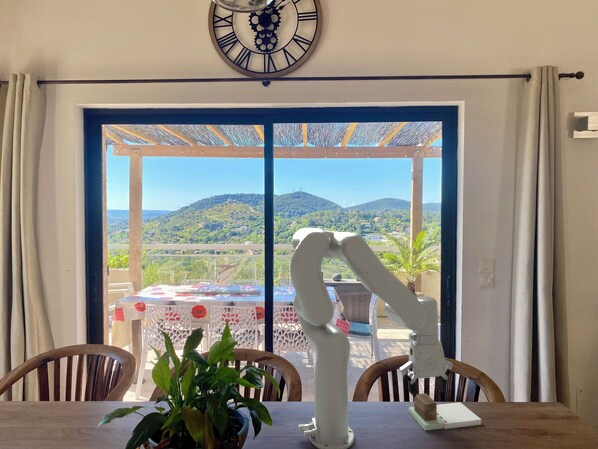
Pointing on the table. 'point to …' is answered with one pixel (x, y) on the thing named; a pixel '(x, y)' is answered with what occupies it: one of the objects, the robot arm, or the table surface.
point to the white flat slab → (456, 415)
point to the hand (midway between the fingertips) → (427, 392)
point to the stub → (425, 412)
